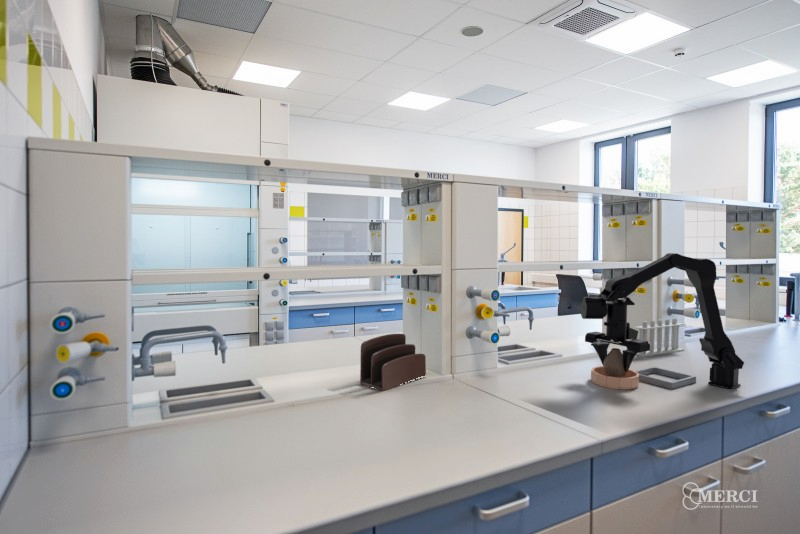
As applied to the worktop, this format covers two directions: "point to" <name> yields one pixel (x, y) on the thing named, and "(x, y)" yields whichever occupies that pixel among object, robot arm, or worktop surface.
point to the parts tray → (684, 378)
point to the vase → (614, 363)
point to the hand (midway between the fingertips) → (615, 368)
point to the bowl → (614, 379)
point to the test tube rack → (660, 337)
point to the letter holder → (390, 362)
